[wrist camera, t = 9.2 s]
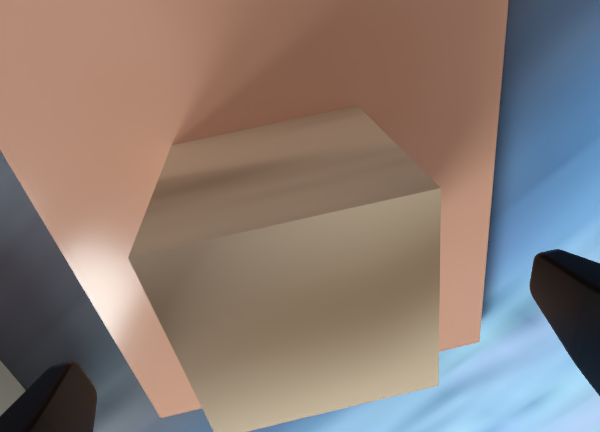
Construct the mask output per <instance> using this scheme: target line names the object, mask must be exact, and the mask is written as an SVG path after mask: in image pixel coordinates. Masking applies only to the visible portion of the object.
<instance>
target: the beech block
mask: <svg viewBox="0 0 600 432" xmlns="http://www.w3.org/2000/svg"><path fill="white" fill-rule="evenodd" d="M440 228H441V188H440V187H439V186H438V185H437V184H436V183H435V182H434V181H433V180H432V179H431V178H430V177H429V176H428V175H427V174H426V173H425V172H424V171H423V170H422V169H421V168H420V167H419V166H418V165H417V164H416V163H415V162H414V161H413V160H412V159H411V158H410V157H409V156H408V155H407V154H406V153H405V152H404V151H403V150H402V149H401V148H400V147H399V146H398V145H397V144H396V143H395V142H394V141H393V140H392V139H391V138H390V137H389V136H388V135H387V134H386V133H385V132H384V131H383V130H382V129H381V128H380V127H379V126H378V125H377V124H376V123H375V122H374V121H373V120H372V119H371V118H370V117H369V116H368V115H367V114H366V113H365V112H364V111H363V110H362V109H361V108H359V107H358V106H354V107H349V108H345V109H340V110H335V111H331V112H326V113H321V114H317V115H312V116H307V117H303V118H298V119H293V120H288V121H284V122H279V123H274V124H270V125H265V126H260V127H256V128H251V129H246V130H242V131H237V132H232V133H228V134H223V135H218V136H214V137H209V138H204V139H200V140H195V141H190V142H185V143H181V144H176V145H171V148H170V150H169V153H168V155H167V158H166V161H165V163H164V166H163V168H162V171H161V174H160V176H159V179H158V181H157V184H156V186H155V189H154V192H153V194H152V197H151V199H150V202H149V205H148V207H147V210H146V212H145V215H144V218H143V220H142V223H141V225H140V228H139V231H138V233H137V236H136V238H135V241H134V244H133V246H132V249H131V251H130V254H129V257H128V259H129V261H130V263H131V265H132V267H133V269H134V271H135V273H136V275H137V277H138V279H139V281H140V283H141V285H142V287H143V289H144V291H145V293H146V295H147V297H148V299H149V301H150V303H151V305H152V307H153V310H154V312H155V314H156V316H157V318H158V320H159V322H160V324H161V326H162V328H163V330H164V332H165V334H166V336H167V338H168V340H169V342H170V344H171V346H172V348H173V350H174V352H175V354H176V356H177V358H178V360H179V362H180V364H181V366H182V368H183V370H184V372H185V374H186V376H187V378H188V381H189V383H190V385H191V387H192V389H193V391H194V393H195V395H196V397H197V399H198V401H199V403H200V405H201V407H202V409H203V411H204V413H205V415H206V417H207V419H208V421H209V423H210V425H211V427H212V429H213V431H214V432H247V431H251V430H255V429H259V428H264V427H268V426H272V425H276V424H280V423H284V422H289V421H293V420H297V419H301V418H305V417H309V416H314V415H318V414H322V413H326V412H330V411H334V410H339V409H343V408H347V407H351V406H355V405H359V404H363V403H368V402H372V401H376V400H380V399H384V398H388V397H393V396H397V395H401V394H405V393H409V392H413V391H418V390H422V389H426V388H430V387H434V386H438V380H439V304H440Z"/></svg>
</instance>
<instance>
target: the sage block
mask: <svg viewBox="0 0 600 432" xmlns="http://www.w3.org/2000/svg"><path fill="white" fill-rule="evenodd" d="M25 391H26V390H25V389H24V388H23V387H22V385H21V384H20V383H19V382H18V381H17V380H16V378H15V377H14V376H13V375H12V374H11V372H10V371H9V370H8V369H7V368H6V367H5V365H4V364H3V363H2V362H1V361H0V416H1V415H2V414H3V413H4V412H5V411H6V410H7V409H8V408H9V407H10V406H11V405H12V404H13V403H14V402H15V401H16V400H17V399H18V398H19V397H20V396H21V395H22V394H23V393H24V392H25Z"/></svg>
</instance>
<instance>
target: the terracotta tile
mask: <svg viewBox="0 0 600 432" xmlns="http://www.w3.org/2000/svg"><path fill="white" fill-rule="evenodd" d="M508 2H509V0H0V150H1V152H2V154H3V155H4V157H5V159H6V160H7V162H8V164H9V165H10V167H11V169H12V170H13V172H14V174H15V175H16V177H17V179H18V180H19V182H20V184H21V185H22V187H23V189H24V190H25V192H26V194H27V195H28V197H29V199H30V200H31V202H32V204H33V205H34V207H35V209H36V210H37V212H38V214H39V215H40V217H41V219H42V220H43V222H44V224H45V225H46V227H47V229H48V230H49V232H50V234H51V235H52V237H53V239H54V240H55V242H56V244H57V245H58V247H59V249H60V250H61V252H62V254H63V255H64V257H65V259H66V261H67V262H68V264H69V266H70V267H71V269H72V271H73V272H74V274H75V276H76V277H77V279H78V281H79V282H80V284H81V286H82V287H83V289H84V291H85V292H86V294H87V296H88V297H89V299H90V301H91V302H92V304H93V306H94V307H95V309H96V311H97V312H98V314H99V316H100V317H101V319H102V321H103V322H104V324H105V326H106V327H107V329H108V331H109V332H110V334H111V336H112V337H113V339H114V341H115V342H116V344H117V346H118V347H119V349H120V351H121V352H122V354H123V356H124V357H125V359H126V361H127V362H128V364H129V366H130V368H131V369H132V371H133V373H134V374H135V376H136V378H137V379H138V381H139V383H140V384H141V386H142V388H143V389H144V391H145V393H146V394H147V396H148V398H149V399H150V401H151V403H152V404H153V406H154V408H155V409H156V411H157V413H158V414H159V416H160V418H163V417H167V416H171V415H176V414H180V413H184V412H188V411H192V410H196V409H201V408H202V407H201V405H200V403H199V401H198V399H197V397H196V395H195V393H194V391H193V389H192V387H191V385H190V383H189V381H188V378H187V376H186V374H185V372H184V370H183V368H182V366H181V364H180V362H179V360H178V358H177V356H176V354H175V352H174V350H173V348H172V346H171V344H170V342H169V340H168V338H167V336H166V334H165V332H164V330H163V328H162V326H161V324H160V322H159V320H158V318H157V316H156V314H155V312H154V310H153V307H152V305H151V303H150V301H149V299H148V297H147V295H146V293H145V291H144V289H143V287H142V285H141V283H140V281H139V279H138V277H137V275H136V273H135V271H134V269H133V267H132V265H131V263H130V261H129V259H128V257H129V254H130V251H131V249H132V246H133V244H134V241H135V238H136V236H137V233H138V231H139V228H140V225H141V223H142V220H143V218H144V215H145V212H146V210H147V207H148V205H149V202H150V199H151V197H152V194H153V192H154V189H155V186H156V184H157V181H158V179H159V176H160V174H161V171H162V168H163V166H164V163H165V161H166V158H167V155H168V153H169V150H170V148H171V145H176V144H181V143H185V142H190V141H195V140H200V139H204V138H209V137H214V136H218V135H223V134H228V133H232V132H237V131H242V130H246V129H251V128H256V127H260V126H265V125H270V124H274V123H279V122H284V121H288V120H293V119H298V118H303V117H307V116H312V115H317V114H321V113H326V112H331V111H335V110H340V109H345V108H349V107H354V106H358V107H359V108H361V109H362V110H363V111H364V112H365V113H366V114H367V115H368V116H369V117H370V118H371V119H372V120H373V121H374V122H375V123H376V124H377V125H378V126H379V127H380V128H381V129H382V130H383V131H384V132H385V133H386V134H387V135H388V136H389V137H390V138H391V139H392V140H393V141H394V142H395V143H396V144H397V145H398V146H399V147H400V148H401V149H402V150H403V151H404V152H405V153H406V154H407V155H408V156H409V157H410V158H411V159H412V160H413V161H414V162H415V163H416V164H417V165H418V166H419V167H420V168H421V169H422V170H423V171H424V172H425V173H426V174H427V175H428V176H429V177H430V178H431V179H432V180H433V181H434V182H435V183H436V184H437V185H438V186H439V187H440V188H441V228H440V304H439V351H444V350H448V349H452V348H456V347H460V346H465V345H469V344H473V343H477V342H479V339H480V328H481V316H482V304H483V293H484V281H485V269H486V258H487V246H488V235H489V223H490V211H491V200H492V188H493V176H494V165H495V153H496V142H497V130H498V118H499V107H500V95H501V83H502V72H503V60H504V48H505V37H506V25H507V14H508Z"/></svg>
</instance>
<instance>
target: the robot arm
mask: <svg viewBox="0 0 600 432" xmlns="http://www.w3.org/2000/svg"><path fill="white" fill-rule="evenodd" d="M530 291H531V294H532V296H533V298H534V300H535V301H536V303H537V305H538V306H539V308H540V309H541V311H542V313H543V314H544V316H545V317H546V319H547V320H548V322H549V324H550V325H551V327H552V328H553V330H554V332H555V333H556V335H557V336H558V338H559V340H560V341H561V343H562V344H563V346H564V347H565V349H566V351H567V352H568V354H569V355H570V357H571V358H572V360H573V361H574V363H575V364H576V366H577V367H578V368H579V370H580V371H581V372H582V374H583V375H584V376H585V378H586V379H587V380H588V382H589V383H590V384H591V385H592V387H593V388H594V389H595V391H596V392H597V393H598V394H599V396H600V263H597V262H594V261H591V260H588V259H586V258H583V257H580V256H577V255H574V254H571V253H569V252H566V251H563V250H559V249H555V250H550V251H546V252H541V253H539V254H537V255H536V256H535V258H534V261H533V267H532V273H531V279H530ZM96 404H97V393H96V389H95V387H94V385H93V384H92V382H91V381H90V379H89V378H88V376H87V375H86V373H85V372H84V371H83V369H82V368H81V366H80V365H79V364H78V363H77V362H74V361H70V362H66V363H61V364H57V365H54V366H51V367H50V368H49V369H48V370H46V371H45V372H44V373H43V374H42V375H41V376H40V377H39V378H38V379H37V380H36V381H35V382H34V383H33V384H32V385H31V386H30V387H29V388H28V389H27V390H26V391H25V392H24V393H23V394H22V395H21V396H20V397H19V398H18V399H17V400H16V401H15V402H14V403H13V404H12V405H11V406H10V407H9V408H8V409H7V410H6V411H5V412H4V413H3V414H2V415H1V416H0V432H93V428H94V420H95V412H96Z"/></svg>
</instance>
